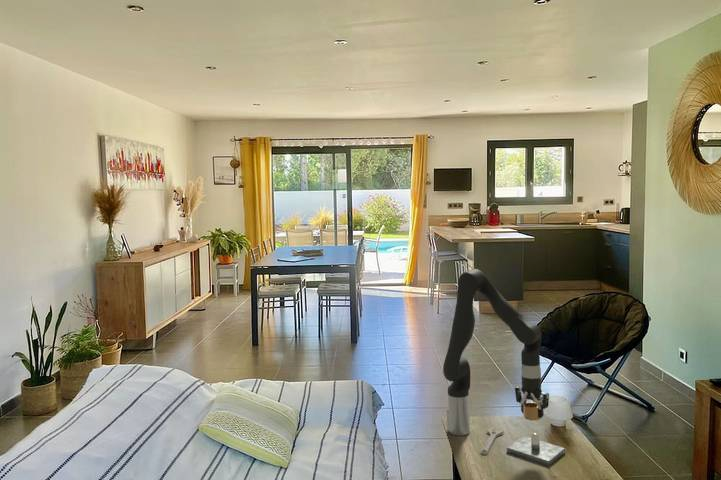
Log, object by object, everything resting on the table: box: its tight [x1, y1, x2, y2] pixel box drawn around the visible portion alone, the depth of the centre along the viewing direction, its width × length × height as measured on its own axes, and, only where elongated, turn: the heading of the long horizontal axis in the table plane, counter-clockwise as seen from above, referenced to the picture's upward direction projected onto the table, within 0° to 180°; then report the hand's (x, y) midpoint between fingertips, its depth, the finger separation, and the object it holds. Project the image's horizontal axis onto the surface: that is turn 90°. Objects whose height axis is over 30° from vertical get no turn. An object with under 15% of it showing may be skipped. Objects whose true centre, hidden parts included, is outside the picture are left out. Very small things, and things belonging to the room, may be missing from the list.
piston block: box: [506, 432, 566, 467], centre depth 215 cm, size 18×14×8 cm
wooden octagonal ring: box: [522, 401, 542, 421], centre depth 213 cm, size 6×6×5 cm
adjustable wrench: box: [480, 427, 505, 456], centre depth 227 cm, size 25×6×2 cm, turn 148°
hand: (532, 415), depth 213 cm, fingers closed on wooden octagonal ring, 6 cm apart
